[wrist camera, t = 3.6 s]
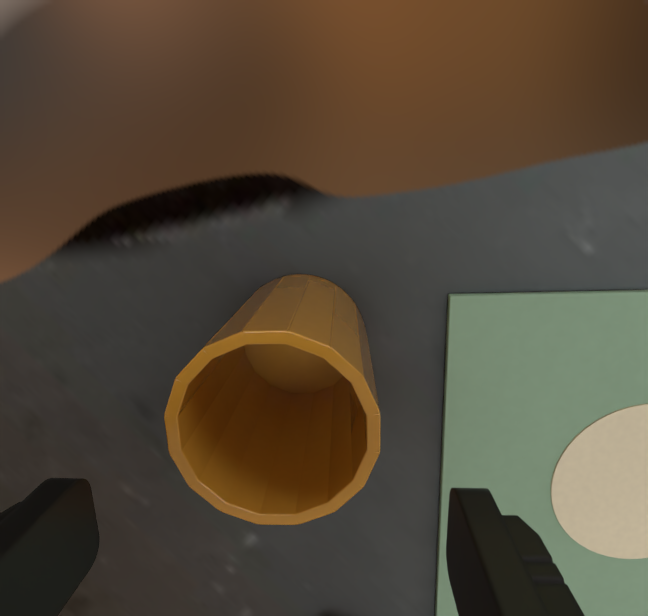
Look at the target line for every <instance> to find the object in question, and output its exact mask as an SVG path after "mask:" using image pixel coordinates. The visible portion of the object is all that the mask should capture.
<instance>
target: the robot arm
mask: <svg viewBox="0 0 648 616" xmlns="http://www.w3.org/2000/svg"><path fill="white" fill-rule="evenodd" d="M98 548H99V531H98V526H97V520H96V514H95V508H94V503H93V497H92V491H91V487H90V484H89V482H88V481H87V480H86V479H73V478H50V479H47V480H45V481H44V482H43V483H42V484H40V485H39V486H38V487H37V488H36V489H35V490H34V491H33V492H32V493H31V494H30V495H29V496H27V497H26V498H25V499H24V500H23V501H22V502H19V503H17V504H15V505H14V506H12V507H10V508H9V509H7V510H5V511H4V512H2V513H0V616H58V614H59V613H60V611H61V610H62V609H63V607H64V606H65V604H66V603H67V601H68V600H69V599H70V597H71V596H72V594H73V593H74V591H75V590H76V589H77V587H78V586H79V584H80V583H81V581H82V580H83V579H84V577H85V576H86V574H87V573H88V571H89V570H90V568H91V567H92V565H93V563H94V561H95V558H96V555H97V552H98ZM446 560H447V569H448V576H449V581H450V585H451V589H452V592H453V596H454V600H455V604H456V608H457V612H458V615H459V616H585V615H584V614H583V612H582V610H581V608H580V606H579V605H578V603H577V601H576V599H575V598H574V596H573V594H572V592H571V591H570V589H569V587H568V585H567V584H565V583H564V578H563V576H562V575H561V573H560V571H559V569H558V568H557V566H556V564H555V563H553V560H552V557H551V555H550V553H549V552H548V550H547V548H546V546H545V545H544V543H543V541H542V539H541V537H540V536H539V534H537V533H536V532H535V531H534V530H533V529H532V528H531V527H530V526H529V525H528V524H527V523H525V522H524V521H523V520H522V519H521V518H520V517H519V516H518V515H501V512H500V510H499V508H498V506H497V504H496V502H495V500H494V498H493V496H492V494H491V492H490V490H489V489H487V488H451V490H450V494H449V508H448V524H447V540H446Z"/></svg>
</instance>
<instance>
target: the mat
mask: <svg viewBox="0 0 648 616" xmlns="http://www.w3.org/2000/svg"><path fill="white" fill-rule="evenodd" d="M451 488H487V489H489V490H490V492H491V494H492V496H493V498H494V500H495V502H496V504H497V506H498V508H499V510H500V512H501V515H518V516H519V517H520V518H521V519H522V520H523V521H524V522H525V523H527V524H528V525H529V526H530V527H531V528H532V529H533V530H534V531H535V532H536V533H537V534H539V536H540V537H541V539H542V541H543V543H544V545H545V546H546V548H547V550H548V552H549V553H550V555H551V557H552V560H553V563H555V564H556V566H557V568H558V569H559V571H560V573H561V575H562V576H563V578H564V583H565V584H567V585H568V587H569V589H570V591H571V592H572V594H573V596H574V598H575V599H576V601H577V603H578V605H579V606H580V608H581V610H582V612H583V614H584V615H585V616H648V290H617V291H568V292H519V293H470V294H448V310H447V335H446V359H445V383H444V407H443V432H442V456H441V480H440V505H439V529H438V553H437V578H436V602H435V616H459V615H458V612H457V608H456V604H455V600H454V596H453V592H452V589H451V585H450V581H449V576H448V569H447V560H446V540H447V524H448V508H449V494H450V490H451Z"/></svg>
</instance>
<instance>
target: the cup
mask: <svg viewBox="0 0 648 616" xmlns="http://www.w3.org/2000/svg"><path fill="white" fill-rule="evenodd" d="M164 419H165V427H166V434H167V442H168V449H169V452H170V455H171V457H172V459H173V461H174V462H175V464H176V466H177V467H178V469H179V471H180V472H181V474H182V476H183V477H184V479H185V481H186V482H187V484H188V486H190V488H191V489H193V490H194V491H195V492H196V493H198V494H199V495H200V496H201V497H203V498H204V499H205V500H206V501H208V502H209V503H210V504H211V505H213V506H214V507H215V508H216V509H218V510H219V511H220V510H221V512H223V513H226V514H229V515H232V516H235V517H238V518H241V519H243V520H246V521H249V522H252V523H255V524H259V525H298V524H302V523H305V522H308V521H311V520H313V519H316V518H319V517H322V516H325V515H328V514H330V513H333V512H335V511H337V510H338V509H339V508H340V507H341V506H342V505H344V504H345V503H346V502H347V501H348V500H349V499H350V498H352V497H353V496H354V495H355V494H356V493H357V492H359V491H360V490H361V489H362V488H363V487H364V486H365V484H366V482H367V479H368V477H369V475H370V473H371V471H372V469H373V467H374V465H375V462H376V460H377V458H378V456H379V454H380V409H379V403H378V397H377V391H376V386H375V380H374V374H373V368H372V362H371V357H370V351H369V345H368V339H367V334H366V328H365V325H364V323H363V319H362V317H361V314H360V312H359V310H358V308H357V306H356V304H355V303H354V301H353V300H352V299H351V297H350V296H349V295H348V294H347V293H346V292H345V291H344V290H342V289H341V288H340V287H339V286H337V285H335V284H334V283H332V282H330V281H328V280H326V279H324V278H320V277H317V276H313V275H306V274H295V275H288V276H283V277H280V278H277V279H274V280H272V281H270V282H269V283H267V284H265V285H264V286H262V287H260V288H259V289H258V290H257V291H256V292H255V293H254V294H253V295H252V296H251V297H250V298H249V299H248V300H247V302H246V303H245V304H244V305H243V306H242V307H241V308H240V309H239V310H238V311H237V312H236V313H235V314H234V315H233V316H232V317H231V318H230V320H229V321H228V322H227V323H226V324H225V325H224V326H223V327H222V328H221V329H220V330H219V331H218V332H217V333H216V334H215V335H214V336H213V338H212V339H211V340H210V341H209V342H208V343H207V344H206V345H205V346H204V347H203V348H202V349H201V350H200V351H199V352H198V354H197V355H196V356H195V357H194V358H193V359H192V360H191V361H190V362H189V363H188V364H187V365H186V367H185V368H184V369H183V370H182V371H181V372H180V373H179V374H178V375H177V376H176V378H175V381H174V384H173V387H172V390H171V393H170V397H169V400H168V403H167V406H166V409H165V413H164Z"/></svg>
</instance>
